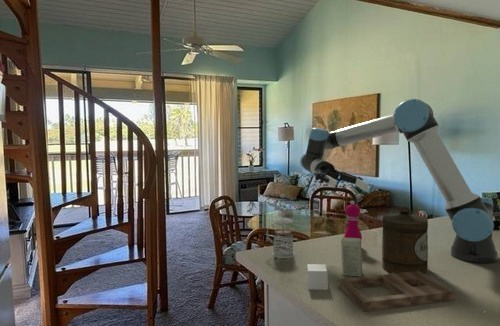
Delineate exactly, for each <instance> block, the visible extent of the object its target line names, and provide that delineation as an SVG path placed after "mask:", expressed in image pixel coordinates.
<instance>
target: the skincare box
mask: <svg viewBox="0 0 500 326" xmlns="http://www.w3.org/2000/svg"><path fill="white" fill-rule="evenodd" d="M340 241H341V243H340V244H341V245H340V246H341V262H342V263H341V266H342V275H343V276H351V277H362V275H363V261H362V260H363V258H362V256H363V255H362V254H363V253H362V239H361V238H345V237H342V239H341V240H340Z"/></svg>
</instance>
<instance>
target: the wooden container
mask: <svg viewBox="0 0 500 326" xmlns="http://www.w3.org/2000/svg"><path fill="white" fill-rule="evenodd" d="M398 211H399V212H400V213H390V214H386V215H383V217H382V243H381V244H382V245H381V253H382V254H381V256H382V257H381V258H382V259H381V266H382V267H381V268H383V269H384V270H385V271H387V272H389V273H390V274H394V273H403V272H413V271H420V272H421V273H423V274H425V275H427V274H426V273H428V267H429V265H428V261H429V241H428V238H429V234H428V229H429V219H428V218H427V217H424V216H421V215H417V214H410V208H408V207H406V206H402V207H400V208H399V209H398Z"/></svg>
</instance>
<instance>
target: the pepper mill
mask: <svg viewBox="0 0 500 326" xmlns="http://www.w3.org/2000/svg"><path fill="white" fill-rule="evenodd" d="M344 211H345V214H346V219H347V228H346V230H345V232H344V235H343V236H344V237H345V238H361V240H363V239H362V238H363V236H362V232H361V231H360V228H359V225H358V223H359V220H360V216H359V215H360V214H361V209H360V207H359V205H357V204H355V201H354V200H350V204H349V205H348V204H347V206H345V210H344Z"/></svg>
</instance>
